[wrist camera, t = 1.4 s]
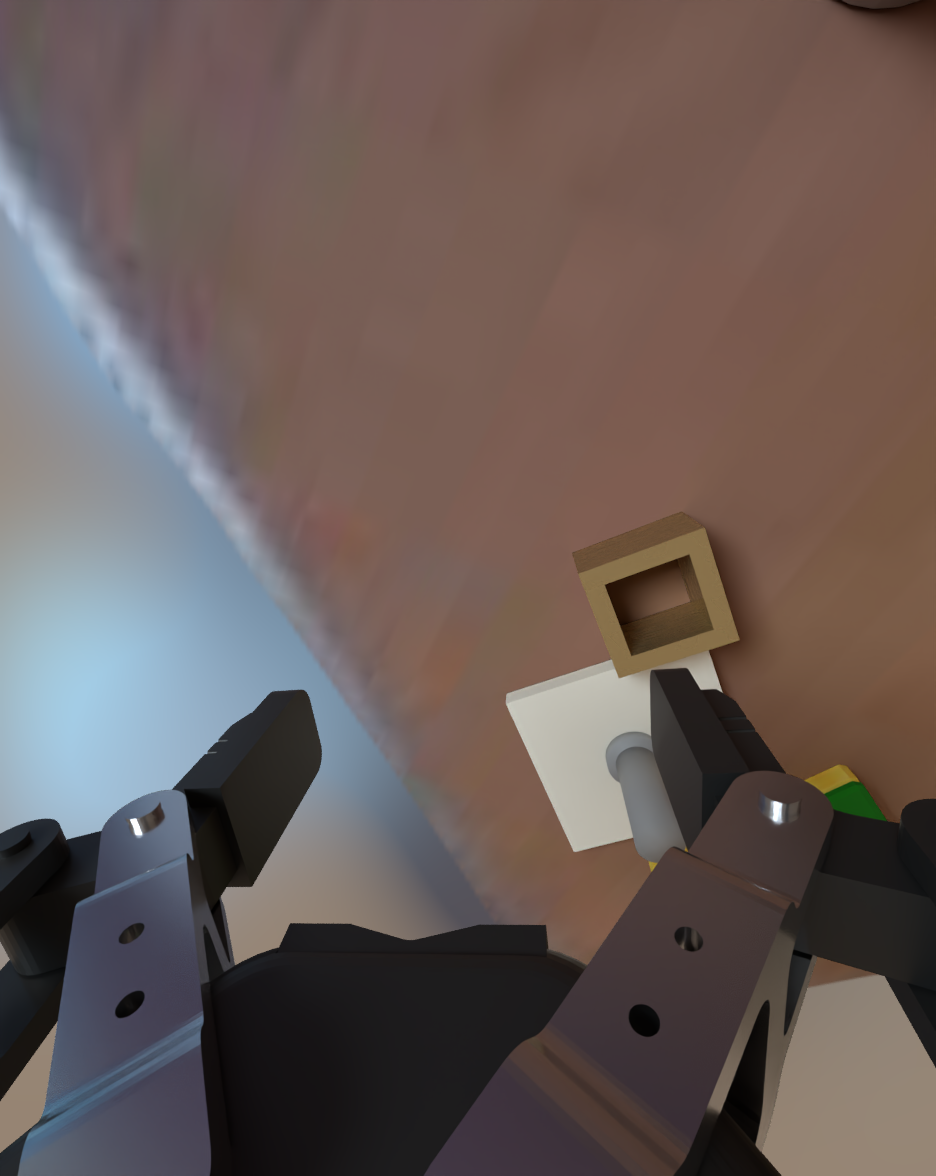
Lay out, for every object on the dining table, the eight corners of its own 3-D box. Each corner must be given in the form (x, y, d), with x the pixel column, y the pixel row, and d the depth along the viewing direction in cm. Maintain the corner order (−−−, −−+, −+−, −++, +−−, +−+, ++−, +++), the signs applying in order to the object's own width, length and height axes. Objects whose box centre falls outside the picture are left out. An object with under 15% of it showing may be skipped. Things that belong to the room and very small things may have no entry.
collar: (681, 511, 29) (704, 527, 25) (713, 611, 30) (739, 640, 27) (572, 552, 30) (578, 573, 26) (608, 646, 32) (619, 678, 28)
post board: (698, 631, 31) (755, 706, 23) (752, 792, 34) (818, 907, 26) (506, 693, 33) (499, 779, 26) (572, 838, 37) (584, 954, 29)
